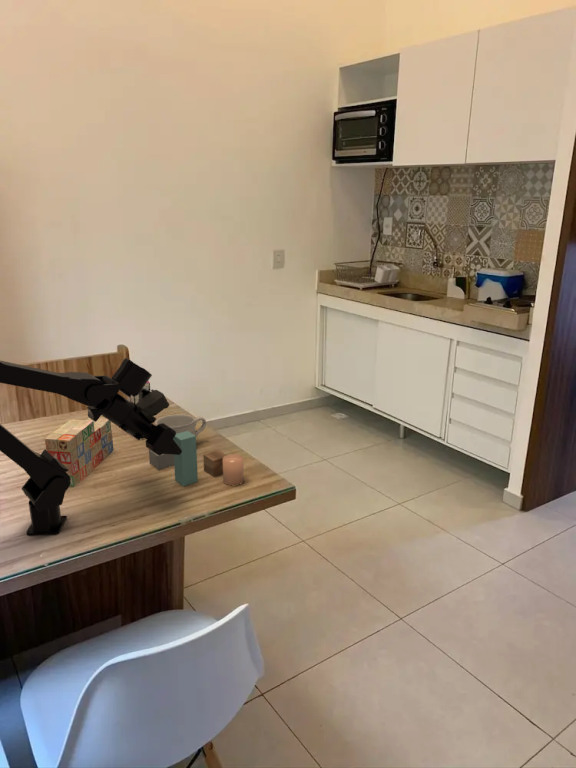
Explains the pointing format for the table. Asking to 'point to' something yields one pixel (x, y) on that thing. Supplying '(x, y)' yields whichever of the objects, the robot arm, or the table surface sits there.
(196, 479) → the teal block
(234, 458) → the peach rounded cylinder
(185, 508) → the table surface
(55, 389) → the robot arm
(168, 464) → the gray block
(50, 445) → the stack of blocks
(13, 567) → the table surface
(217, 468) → the walnut cube
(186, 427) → the teacup
